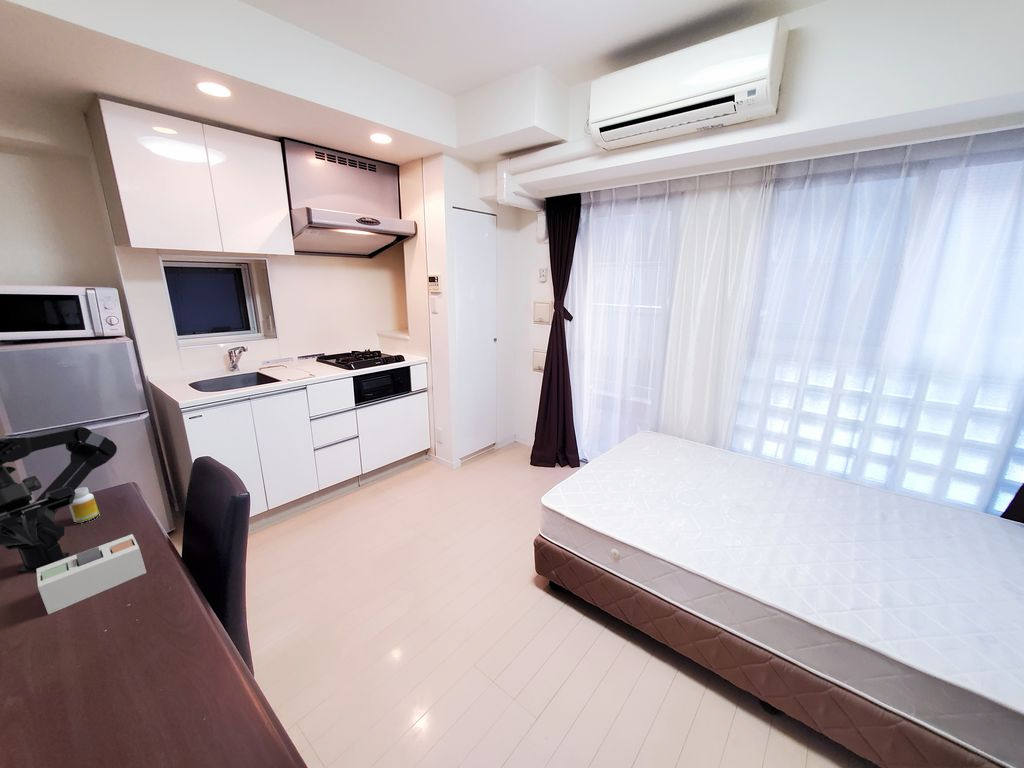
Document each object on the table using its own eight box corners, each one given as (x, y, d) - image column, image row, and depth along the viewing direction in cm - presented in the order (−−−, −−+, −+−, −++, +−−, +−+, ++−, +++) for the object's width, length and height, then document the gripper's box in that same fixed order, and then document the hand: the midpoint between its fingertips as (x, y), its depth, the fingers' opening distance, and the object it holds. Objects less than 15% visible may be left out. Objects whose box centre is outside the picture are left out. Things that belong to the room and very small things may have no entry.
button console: (46, 594, 90) (36, 568, 89) (139, 557, 102) (132, 534, 101) (48, 614, 85) (38, 587, 83) (146, 572, 97) (139, 548, 95)
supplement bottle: (104, 515, 122) (95, 486, 119) (82, 525, 117) (72, 496, 114) (92, 513, 123) (83, 484, 121) (69, 523, 118) (59, 493, 116)
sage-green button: (45, 582, 88) (42, 573, 88) (69, 573, 91) (65, 564, 90) (46, 589, 86) (42, 580, 85) (70, 580, 89) (67, 571, 88)
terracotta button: (113, 555, 96) (110, 547, 96) (133, 548, 99) (130, 540, 98) (115, 562, 94) (113, 553, 94) (136, 554, 97) (133, 545, 96)
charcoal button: (79, 563, 92) (76, 554, 91) (100, 555, 95) (98, 546, 94) (80, 570, 90) (77, 561, 89) (103, 561, 92) (100, 552, 92)
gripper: (-74, 492, 78) (-32, 554, 77) (59, 454, 95) (96, 505, 93) (-72, 518, 83) (-33, 577, 82) (54, 478, 100) (88, 526, 98)
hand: (35, 543), depth 88 cm, fingers closed
